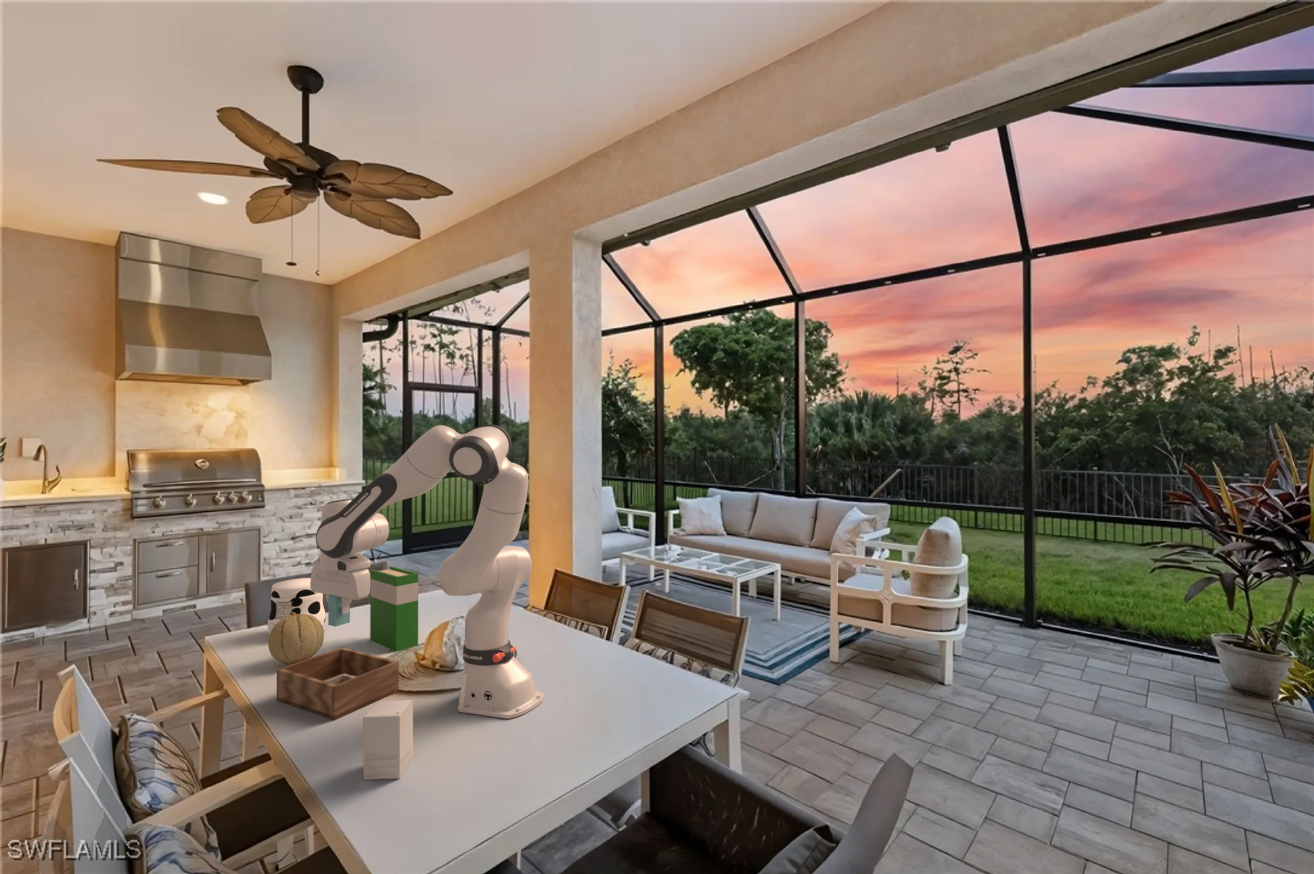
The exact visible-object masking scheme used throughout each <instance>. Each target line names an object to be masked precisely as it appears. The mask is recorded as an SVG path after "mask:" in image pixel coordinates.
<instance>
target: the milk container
mask: <svg viewBox="0 0 1314 874" xmlns="http://www.w3.org/2000/svg"><path fill="white" fill-rule="evenodd" d="M310 581H311V577H301V578H292V579H287V580H283V581H279V582H275V583H274V584H272V585H271V592H270V593H271V594H270V595H271V596H270V597H271V598H270V613H269V616H268V619H267V630H268V633H269V634H270V633H271V631H272V629H273V628H274V626H275V625H276V624H277V623H278V622H279V621H281V620H282V619H284V618H286V617H289V616H292V615H289V614H290V612H295V613H296V614H308V615H312V616H314V617H315V618H316V619H318V620H319V621H320V623H321V625H322V626H323V627H324V625H326V614H327V613H326V610H325V608H324V603H323V601H324V600H323V599H324V594H322V593H317V592H312V590H311V588H310Z"/></svg>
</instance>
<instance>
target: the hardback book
mask: <svg viewBox="0 0 1314 874" xmlns="http://www.w3.org/2000/svg"><path fill="white" fill-rule="evenodd" d="M369 595H370V596H369V597H370V601H369V602H370V606H369V609H370V612H369V613H370V614H369V616H370V618H369V619H370V621H369V636H370V638H369V640H370V641H371V642H372V643H375V644H377V645H380V646H382V647H384V648H387V649H389V650H392V651H393V652H395V653H397V652H401V651H404V650H407V649H410V648H415V647H417V646H419V573H418V572H416V571H410V570H407V569H403V568H399V567H395V566H389V568H387V569H382V570H376V569H370V593H369Z"/></svg>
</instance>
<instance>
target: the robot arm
mask: <svg viewBox="0 0 1314 874" xmlns="http://www.w3.org/2000/svg"><path fill="white" fill-rule="evenodd" d="M511 449H512V439H511V436H510V434H509V433H508V432H507V431H506V429H505V428H504V427H501V426H500V425H496V424H484V425H481V426H480V425H479V426H477V427H473V428H471V429H470V428H469V429H467V430H466V431H465V432H464V433H462V434H461V433H459V432H457V431H456V430H455V429H454V428H452V427H449V426H447V425H436V426H433V427H431V428H430V429H429V430H427V431H426V432H425V433H423V434H422V435H421V436H420V437H419V438H418V439H416V440H415V442H413V443H412V444H411V445H410V447H409V448H408V449H407V450H406V451H405V452H404V453H403V454H402V455H401V457H399V458H398V459H397V461H395V462H394V463H393V464H392V465H391V466H390V467H389V468H388V469H386V470H385V471H384V472H383V473H382V474H380V475H379V476H377V477H376V478H375V479H374V480H373V481H371V482H370V483H369V484H368V485H367V486H366V487H365V488H364V489H362V490H361V491H360V492H359V493H358V494H357V495H356V496H355V497H354V498H353V499H352V498H344V499H339V500H332V501H328V502H327V503H326V504H324V505H323V508H322V512H321V516H320V524H319V526H318V528H317V530H316V534H315V544H316V546H317V548H318V549H319V552H320V553H319V557H317V558H316V559H315V560H314V563H313V566H312V568H311V573H310V578H311V581H310V588H311V590H312V592H317V593H322V594H323V595H325V599H326V602H327V603H328V595H335V596H338V597H342V601H343V603H342V606H341V607H339V610H340V611H339V612H340V613H342V614H346V613H348V612H349V606H350V607H351V604H352V602H353V600H354V601H360V600H362V599H366V598H368V597H369V595H370V582H371V571H370V570H369V568H370V567H371V565H372V563H371V562H372V561H371V560H370V558H368V557H366V556H365V555H363V554H362V553H361V552H364V551H367V550H372V549H375V548H378V547H381V546H383V545H385V543H386V542H387V541H388V539H389V537H390V532H391V527H390V526H391V525H390V523H389V521H388V518H387V517H386V516H385V515H384V514H383V513H380V511H381V510H383V509H384V508H386V507H388V506H391V505H392V504H394V503H397V502H400V501H403V500H406V499H410V498H414V497H418V496H422V495H424V494H426V493H427V492H429V491H430V490H432V489H433V488H434V487H436V486H438V484H439V483H441V482H440V481H442V480H443V479H444V477H445V476H446V475H447V474H448V473H449V472H450V471H451V469H452V471H453V472H454V473H455V474H456V475H458V476H459V477H461V478H462V479H465V480H467V481H470V482H472V483H474V484H475V485H477V486H483V490H482V491H483V492H482V494H481V495H482V496H481V500H480V504H479V507H478V511H477V515H476V518H475V522H474V524H473V526H472V527H473V528H472V530H471V531H470V533H469V534H468V536H467V538H466V539H465V540H464V542H463V543H462V544H461V545H460V546H459V547H458V548H457V549H456V550H455V551H454V552H453V553H452V554H450V555H448V557H446V558H445V559H443V561H442V562H441V564H440V565H439V569H438V571H437V581H438V585H439V588H440V589H441V590H442V591H443V592H444V593H445V594H446V595H448V596H453V597H462V596H463V597H465V596H466V597H467V596H472V595H477V594H480V593H482V594H481V596H480V598H479V600H478V601H477V602H476V603H475V604H474V605H473V606H472V607H470V609H469V610H468V611H467V613H466V615H465V618H464V644H463V646H462V647H463V648H462V660H463V661H464V665H463V671H462V678H461V687H460V690H459V691H460V693H459V696H458V697H457V701H458V702H457V703H458V705H457V712H459V713H464V714H465V713H467V714H474V715H478V716H479V715H480V716H486V717H492V718H499V719H500V718H501V719H509V720H510V719H513V718H516V717H519V716H522V715H524V714H526V713H528V712H531V710H533V709H535V708H536V707H537V706H539V705H540V704H542V702H543V700H544V698H545V696H544V693H543V692H541V691H539V690H537V689H535V688H536V687H535V681H534V677H533V675H532V674H531V672H530V671H529V670H528V669H527V668H525V667H524V665H523V664H521V662H520V661H519V660H518V659H517V658H516V657H515V654H514V652H516V651H517V648H518V647H517V645H516V646H513V647H512V644H511V641H510V639H509V632H510V631H509V628H510V627H509V625H510V613H511V612H510V611H511V607H512V604H513V601H514V599H515V597H516V595H517V593H518V590H519V589H520V587H522V585H523V584H524V582H525V581H526V580H527V579H528V577H530V574H531V572H532V567H533V562H532V561H533V560H532V556H531V555H530V553H529V551H527V549H526V548H524V547H522V546H519V545H517V546H516V545H509V544H511V543H512V542H513V541H514V540H515V539H516V537H518V534H519V531H520V527H521V523H522V520H523V516H524V512H525V509H526V508H525V507H526V502H527V498H528V492H529V491H528V490H529V474H528V471H527V470H526V469H525V468H524V467H523V466H521V465H520V464H518V463H514V462H511V461H510V460H509V458H508V456H509V455H510V452H511Z"/></svg>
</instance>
